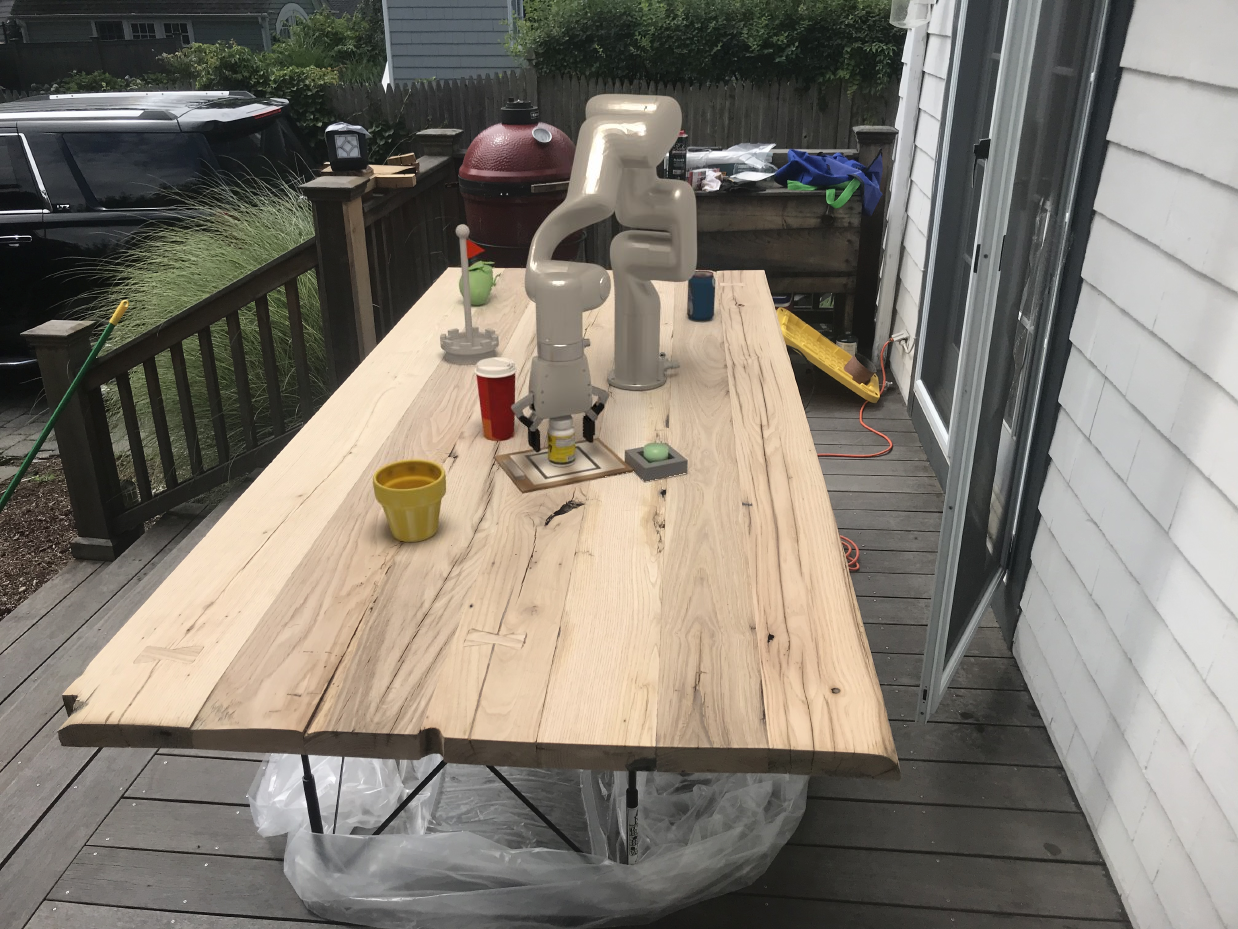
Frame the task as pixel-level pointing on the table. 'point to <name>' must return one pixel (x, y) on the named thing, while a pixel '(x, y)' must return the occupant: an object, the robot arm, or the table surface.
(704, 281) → the soda can
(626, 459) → the button housing
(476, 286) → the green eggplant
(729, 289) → the table surface
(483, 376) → the paper cup
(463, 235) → the flag stand
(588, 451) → the brown bordered board
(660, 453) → the button
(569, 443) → the supplement bottle
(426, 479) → the plant pot
